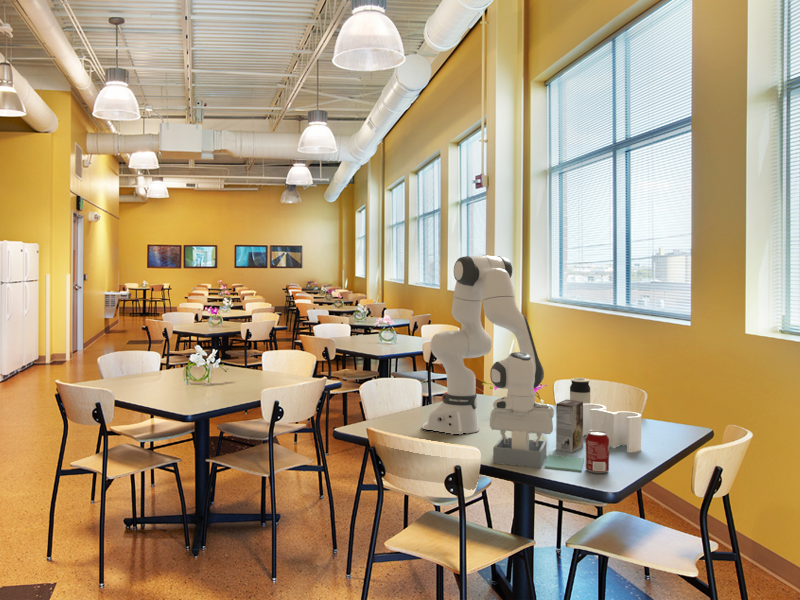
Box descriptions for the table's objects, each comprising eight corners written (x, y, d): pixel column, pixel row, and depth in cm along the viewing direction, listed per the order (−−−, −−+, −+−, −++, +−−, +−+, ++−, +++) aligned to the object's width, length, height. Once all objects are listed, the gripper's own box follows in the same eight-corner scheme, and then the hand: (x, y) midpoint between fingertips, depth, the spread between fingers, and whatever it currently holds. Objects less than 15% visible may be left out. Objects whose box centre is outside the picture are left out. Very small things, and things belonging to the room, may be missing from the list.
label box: (511, 461, 191) (511, 431, 191) (515, 455, 198) (515, 426, 197) (525, 463, 190) (525, 432, 189) (528, 457, 196) (529, 427, 196)
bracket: (647, 449, 205) (648, 414, 205) (629, 453, 200) (630, 418, 199) (589, 433, 226) (589, 402, 226) (571, 437, 221) (572, 405, 220)
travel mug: (570, 424, 239) (571, 380, 239) (568, 420, 247) (569, 377, 247) (591, 425, 238) (591, 381, 237) (588, 421, 246) (589, 378, 245)
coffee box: (566, 443, 212) (566, 398, 212) (583, 446, 208) (583, 401, 207) (555, 449, 205) (555, 403, 204) (573, 452, 201) (573, 405, 200)
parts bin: (493, 463, 190) (493, 447, 190) (501, 451, 203) (501, 436, 203) (541, 468, 184) (541, 452, 184) (546, 455, 198) (546, 440, 197)
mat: (544, 468, 185) (544, 466, 185) (549, 456, 197) (549, 454, 197) (581, 471, 181) (581, 470, 181) (583, 459, 193) (583, 458, 193)
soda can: (608, 475, 177) (608, 436, 177) (584, 473, 180) (585, 434, 179) (609, 469, 183) (609, 430, 183) (586, 466, 186) (586, 428, 185)
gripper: (554, 403, 192) (554, 445, 193) (492, 399, 199) (492, 439, 200) (552, 406, 186) (552, 450, 187) (488, 402, 193) (488, 444, 194)
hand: (520, 444), depth 193 cm, fingers open, 8 cm apart
